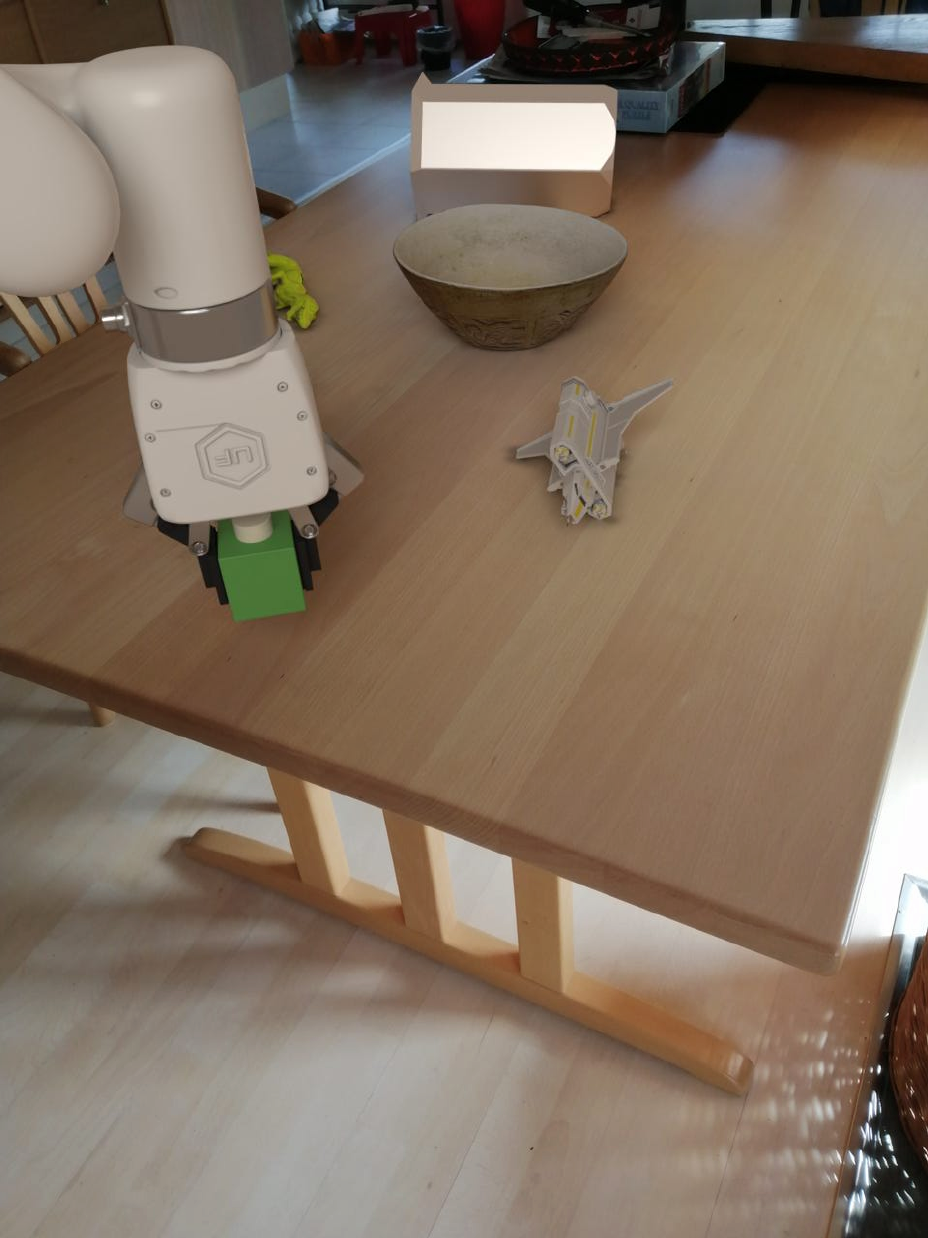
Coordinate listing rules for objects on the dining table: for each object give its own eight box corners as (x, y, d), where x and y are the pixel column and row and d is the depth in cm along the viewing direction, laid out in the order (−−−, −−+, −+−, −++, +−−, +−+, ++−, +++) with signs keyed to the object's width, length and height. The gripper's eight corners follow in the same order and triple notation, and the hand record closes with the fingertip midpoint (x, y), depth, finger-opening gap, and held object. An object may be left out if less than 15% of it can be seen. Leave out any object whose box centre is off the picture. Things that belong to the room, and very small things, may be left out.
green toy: (234, 622, 63) (213, 543, 59) (232, 579, 67) (212, 501, 63) (306, 610, 64) (291, 531, 60) (301, 568, 67) (286, 490, 63)
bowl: (639, 288, 113) (643, 196, 106) (606, 389, 96) (608, 288, 89) (439, 280, 119) (431, 193, 112) (374, 375, 102) (361, 278, 95)
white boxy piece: (422, 249, 137) (404, 143, 119) (433, 154, 142) (418, 39, 125) (606, 252, 135) (616, 145, 117) (610, 156, 140) (620, 39, 122)
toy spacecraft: (541, 479, 91) (695, 411, 84) (518, 588, 80) (693, 521, 73) (494, 410, 87) (651, 333, 80) (463, 515, 76) (642, 436, 69)
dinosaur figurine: (190, 290, 122) (177, 239, 118) (265, 267, 126) (255, 216, 122) (264, 344, 109) (252, 289, 105) (345, 316, 113) (337, 262, 109)
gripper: (32, 368, 49) (130, 644, 61) (372, 323, 51) (404, 599, 63) (49, 308, 55) (136, 571, 67) (355, 270, 57) (387, 532, 69)
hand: (266, 582), depth 65 cm, fingers closed on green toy, 4 cm apart
